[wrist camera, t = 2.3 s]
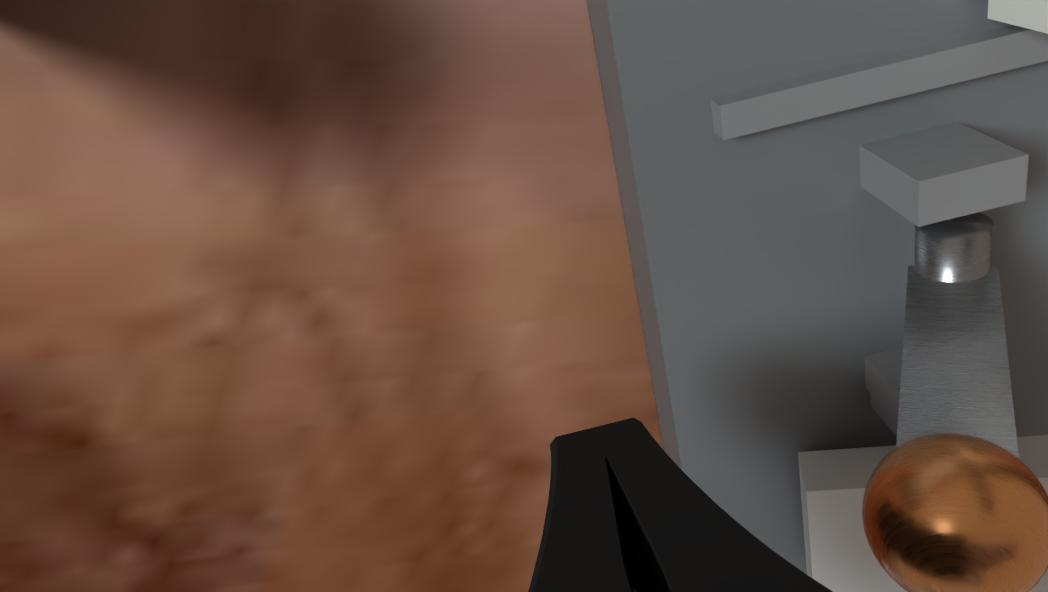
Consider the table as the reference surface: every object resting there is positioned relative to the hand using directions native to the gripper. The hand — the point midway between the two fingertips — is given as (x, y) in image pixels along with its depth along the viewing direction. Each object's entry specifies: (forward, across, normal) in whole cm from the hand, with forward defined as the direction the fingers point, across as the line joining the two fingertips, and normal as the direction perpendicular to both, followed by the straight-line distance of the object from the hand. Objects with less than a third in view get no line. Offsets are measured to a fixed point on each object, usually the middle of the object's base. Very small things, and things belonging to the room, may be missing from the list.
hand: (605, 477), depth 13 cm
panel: (+6, -7, 0) cm, 9 cm away
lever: (+2, -7, 0) cm, 7 cm away
